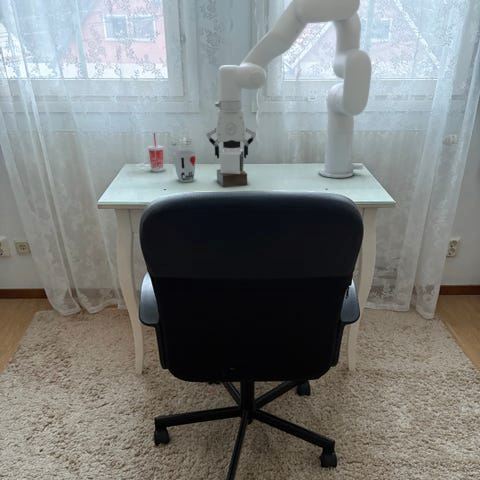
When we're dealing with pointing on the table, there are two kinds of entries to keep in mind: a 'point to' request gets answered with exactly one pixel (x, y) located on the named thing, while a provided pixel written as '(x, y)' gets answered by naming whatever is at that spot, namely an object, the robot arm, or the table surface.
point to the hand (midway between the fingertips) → (231, 157)
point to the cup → (185, 165)
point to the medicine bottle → (231, 158)
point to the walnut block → (232, 179)
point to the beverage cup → (156, 157)
